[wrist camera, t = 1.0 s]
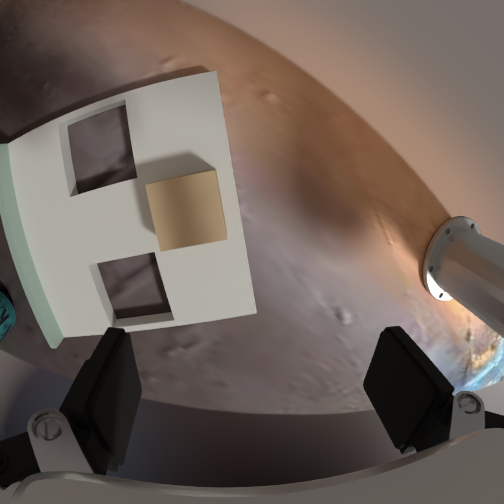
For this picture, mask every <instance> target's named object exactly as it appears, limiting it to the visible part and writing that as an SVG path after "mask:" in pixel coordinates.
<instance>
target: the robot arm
mask: <svg viewBox="0 0 504 504" xmlns="http://www.w3.org/2000/svg"><path fill="white" fill-rule="evenodd" d="M423 280H424V285H425V287H426V289H427V291H428V292H429V294H430V295H432V296H433V297H434V298H435V299H437V300H440V301H448V300H451V299H455V300H456V301H457V302H459V303H460V304H461V305H463V306H464V307H465V308H467V309H468V310H469V311H471V312H472V313H473V314H474V315H476V316H477V317H478V318H479V319H481V320H482V321H483V322H484V323H486V324H487V325H488V326H489V327H491V328H492V329H493V330H494V331H496V332H497V333H498V334H499V335H500V336H502V337H503V338H504V245H502V244H500V243H498V242H496V241H493V240H491V239H489V238H487V237H484V236H482V234H481V231H480V229H479V227H478V225H477V224H476V223H475V221H473V220H472V219H470V218H467V217H464V216H457V217H453V218H451V219H449V220H448V221H446V222H445V223H444V224H443V225H442V226H441V227H440V228H439V229H438V230H437V232H436V233H435V235H434V236H433V238H432V240H431V242H430V244H429V246H428V249H427V251H426V255H425V259H424V264H423ZM363 387H364V390H365V392H366V394H367V395H368V397H369V399H370V401H371V403H372V405H373V406H374V408H375V410H376V412H377V414H378V416H379V417H380V419H381V421H382V423H383V425H384V427H385V429H386V431H387V433H388V434H389V437H390V438H391V440H392V442H393V444H394V446H395V447H396V448H397V449H399V450H400V452H401V454H405V453H408V452H411V451H413V450H414V449H416V451H417V453H415V454H412V455H410V456H407V457H404V458H401V459H398V460H395V461H392V462H389V463H386V464H383V465H379V466H376V467H372V468H369V469H365V470H361V471H357V472H353V473H349V474H345V475H340V476H335V477H330V478H325V479H320V480H313V481H307V482H300V483H293V484H284V485H274V486H261V487H240V488H208V487H188V486H175V485H164V484H155V483H148V482H141V481H135V480H129V479H123V478H116V477H110V476H105V475H106V472H107V470H109V471H114V472H117V470H118V466H119V465H121V466H122V465H123V463H124V460H125V456H126V451H127V447H128V443H129V439H130V435H131V431H132V427H133V423H134V419H135V416H136V411H137V408H138V404H139V401H140V397H141V392H142V389H141V383H140V379H139V375H138V371H137V366H136V362H135V357H134V352H133V348H132V343H131V337H130V334H129V333H126V332H125V330H124V329H123V328H115V327H108V328H107V330H106V331H105V333H104V335H103V336H102V338H101V340H100V342H99V343H98V345H97V347H96V349H95V350H94V352H93V354H92V356H91V357H90V359H88V360H86V361H85V362H84V364H83V366H82V368H81V369H80V371H79V373H78V375H77V377H76V378H75V380H74V383H73V384H72V386H71V388H70V390H69V392H68V394H67V396H66V397H65V399H64V401H63V403H62V405H61V407H60V409H59V411H57V410H54V409H45V410H40V411H38V412H36V413H35V414H34V415H33V416H32V417H31V418H30V420H29V422H28V426H27V428H28V432H25V433H22V434H19V435H17V436H14V437H11V438H8V439H5V440H2V441H0V504H504V416H503V415H499V414H495V413H492V412H488V411H485V409H484V403H483V401H482V399H481V398H480V397H479V396H478V395H476V394H474V393H473V392H470V391H460V392H458V393H457V394H456V395H455V396H453V395H452V393H453V391H454V389H455V388H454V387H453V386H452V385H451V384H450V382H449V381H448V380H447V379H446V378H445V376H444V375H443V374H442V373H441V372H440V371H439V369H438V368H437V367H436V366H435V365H434V364H433V362H432V361H431V360H430V359H429V358H428V357H427V356H426V354H425V353H424V352H423V351H422V350H421V349H420V348H419V346H418V345H417V344H416V343H415V342H414V341H413V340H412V339H411V338H410V336H409V335H408V334H407V333H406V332H405V331H404V330H403V329H402V328H401V327H400V326H393V327H387V328H385V329H384V331H382V332H381V334H380V337H379V340H378V343H377V346H376V349H375V352H374V355H373V357H372V360H371V363H370V366H369V369H368V371H367V374H366V377H365V379H364V382H363Z"/></svg>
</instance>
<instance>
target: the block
mask: <svg viewBox="0 0 504 504" xmlns="http://www.w3.org/2000/svg"><path fill="white" fill-rule="evenodd" d="M145 186H146V191H147V196H148V200H149V205H150V210H151V214H152V218H153V223H154V227H155V231H156V235H157V239H158V243H159V247H160V251H161V252H163V251H168V250H173V249H179V248H184V247H189V246H195V245H200V244H206V243H211V242H217V241H223V240H227V228H226V223H225V217H224V212H223V206H222V201H221V195H220V189H219V184H218V178H217V172H216V169H213V170H207V171H202V172H197V173H192V174H187V175H182V176H178V177H173V178H168V179H164V180H159V181H155V182H152V183H149V184H147V185H145Z"/></svg>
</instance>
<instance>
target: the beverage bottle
mask: <svg viewBox="0 0 504 504" xmlns="http://www.w3.org/2000/svg"><path fill="white" fill-rule="evenodd" d="M15 321H16V315H15V311H14V308H13V306H12V304H11V302H10V301H9V299H8V298H7V297H6V296H5V295H4V294H3V293H2V292H0V340H2V339H3V337H5V335H6V333H8V332H9V331H10V330H11V328H13V326H14V324H15Z"/></svg>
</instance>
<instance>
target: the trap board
mask: <svg viewBox="0 0 504 504" xmlns="http://www.w3.org/2000/svg"><path fill="white" fill-rule="evenodd" d="M122 105H126V110H127V117H128V125H129V131H130V138H131V144H132V150H133V156H134V162H135V167H136V172H137V178H134V179H131V180H127V181H123V182H119V183H116V184H112V185H108V186H105V187H101V188H98V189H95V190H91V191H88V192H85V193H82V194H78V190H77V186H76V181H75V175H74V170H73V164H72V158H71V152H70V145H69V138H68V129H67V126H68V125H70V124H73V123H75V122H77V121H80V120H83V119H85V118H88V117H90V116H93V115H96V114H99V113H101V112H104V111H107V110H110V109H113V108H116V107H119V106H122ZM213 169H216V172H217V178H218V184H219V189H220V195H221V201H222V206H223V212H224V217H225V223H226V228H227V240H223V241H217V242H211V243H206V244H200V245H195V246H189V247H184V248H179V249H173V250H168V251H163V252H161V251H160V247H159V243H158V239H157V235H156V231H155V227H154V223H153V218H152V214H151V210H150V205H149V200H148V196H147V191H146V186H145V185H147V184H149V183H152V182H155V181H159V180H164V179H168V178H173V177H178V176H182V175H187V174H192V173H197V172H202V171H207V170H213ZM0 214H1V218H2V222H3V226H4V230H5V234H6V238H7V241H8V245H9V248H10V251H11V254H12V258H13V261H14V264H15V267H16V270H17V272H18V275H19V278H20V281H21V283H22V286H23V289H24V291H25V294H26V296H27V299H28V301H29V303H30V306H31V308H32V310H33V313H34V315H35V317H36V319H37V321H38V323H39V326H40V328H41V330H42V332H43V334H44V336H45V338H46V340H47V342H48V344H49V346H50V347H51V348H57V347H58V345H59V344H60V342H61V341H62V340H63V338H64V337H75V336H88V335H100V334H104V333H105V331H106V330H107V328H108V327H115V328H123V329H124V330H125V332H130V331H139V330H148V329H156V328H164V327H172V326H179V325H186V324H193V323H200V322H207V321H213V320H219V319H225V318H231V317H237V316H243V315H249V314H254V313H257V311H256V305H255V299H254V293H253V288H252V282H251V276H250V270H249V264H248V258H247V252H246V246H245V241H244V235H243V229H242V223H241V217H240V211H239V205H238V199H237V193H236V187H235V181H234V175H233V169H232V162H231V156H230V150H229V144H228V138H227V132H226V126H225V120H224V113H223V107H222V101H221V95H220V89H219V82H218V76H217V71H212V72H206V73H200V74H195V75H190V76H185V77H181V78H176V79H172V80H168V81H163V82H159V83H156V84H152V85H148V86H144V87H141V88H137V89H134V90H131V91H128V92H124V93H121V94H118V95H115V96H112V97H109V98H106V99H104V100H101V101H98V102H95V103H93V104H90V105H87V106H85V107H82V108H80V109H77V110H75V111H73V112H70V113H68V114H66V115H63V116H61V117H59V118H57V119H54V120H52V121H50V122H48V123H46V124H44V125H42V126H40V127H38V128H36V129H34V130H32V131H30V132H28V133H26V134H24V135H22V136H21V137H19V138H17V139H15V140H13V141H12V142H10V143H8V144H0ZM151 252H155V256H156V259H157V263H158V267H159V270H160V274H161V277H162V281H163V284H164V288H165V291H166V294H167V298H168V301H169V304H170V307H171V311H172V312H168V313H161V314H153V315H146V316H138V317H131V318H123V319H116V316H115V314H114V311H113V308H112V306H111V303H110V300H109V298H108V295H107V292H106V290H105V287H104V284H103V281H102V278H101V275H100V272H99V269H98V266H97V263H100V262H105V261H110V260H115V259H120V258H126V257H131V256H136V255H141V254H146V253H151Z"/></svg>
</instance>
